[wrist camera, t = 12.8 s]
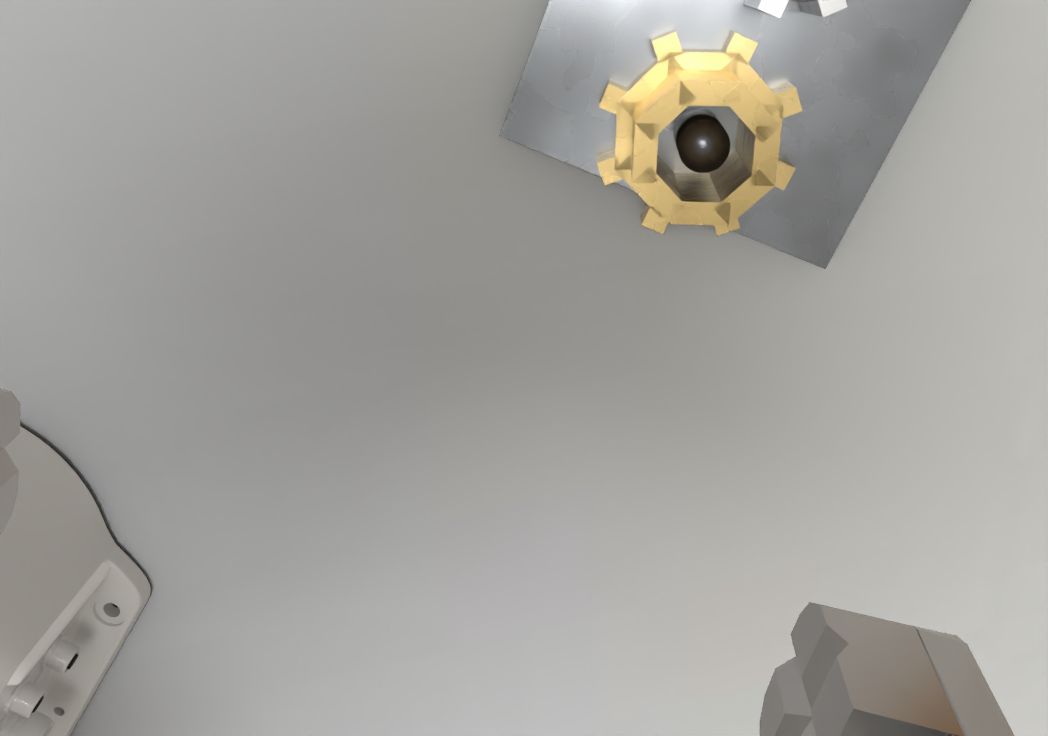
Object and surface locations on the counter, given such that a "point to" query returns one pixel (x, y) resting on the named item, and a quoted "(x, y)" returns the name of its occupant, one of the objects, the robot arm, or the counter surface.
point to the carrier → (710, 131)
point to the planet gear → (670, 92)
